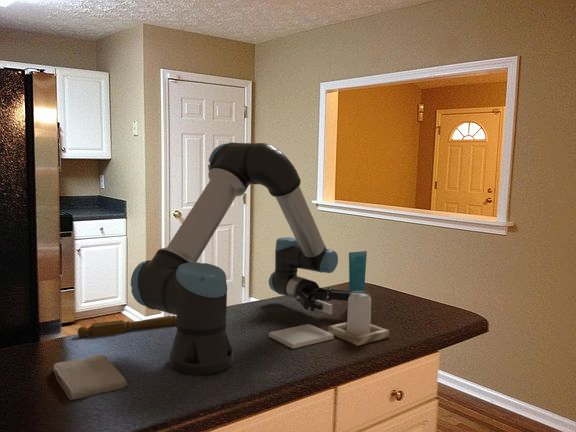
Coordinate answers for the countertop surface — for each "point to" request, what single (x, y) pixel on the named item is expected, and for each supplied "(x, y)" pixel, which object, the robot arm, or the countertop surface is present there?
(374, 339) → the holder
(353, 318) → the can
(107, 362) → the washcloth
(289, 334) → the trivet
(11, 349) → the countertop surface
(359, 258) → the tube
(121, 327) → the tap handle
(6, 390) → the countertop surface
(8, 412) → the countertop surface
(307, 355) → the countertop surface
